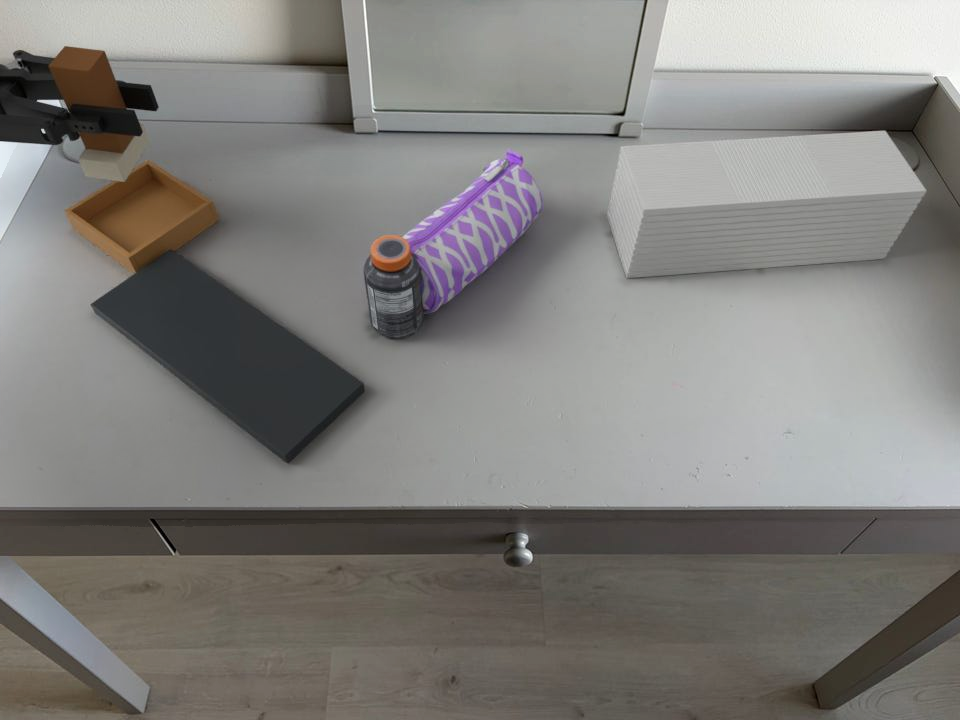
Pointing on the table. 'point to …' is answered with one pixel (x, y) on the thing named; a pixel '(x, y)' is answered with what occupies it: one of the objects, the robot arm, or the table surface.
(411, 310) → the pill bottle
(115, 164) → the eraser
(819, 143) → the stack of papers
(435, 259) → the pencil case
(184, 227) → the tray
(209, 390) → the slate board
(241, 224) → the table surface
